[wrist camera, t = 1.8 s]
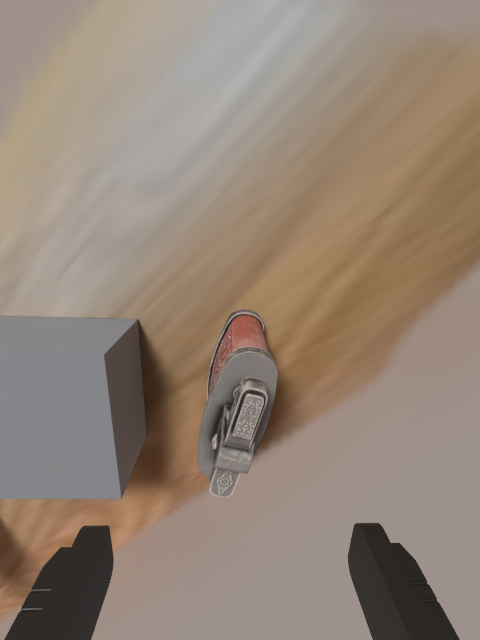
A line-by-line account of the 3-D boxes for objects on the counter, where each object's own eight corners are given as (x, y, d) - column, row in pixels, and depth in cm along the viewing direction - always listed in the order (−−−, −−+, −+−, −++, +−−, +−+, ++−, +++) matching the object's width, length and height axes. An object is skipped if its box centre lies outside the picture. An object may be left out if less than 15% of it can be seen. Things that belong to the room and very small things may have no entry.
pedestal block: (137, 319, 21) (103, 354, 16) (147, 434, 25) (121, 499, 19) (-6, 316, 21) (-93, 351, 15) (22, 433, 24) (-42, 498, 19)
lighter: (240, 407, 24) (246, 529, 15) (199, 398, 24) (178, 516, 14) (272, 315, 22) (303, 389, 12) (227, 303, 21) (223, 369, 12)
